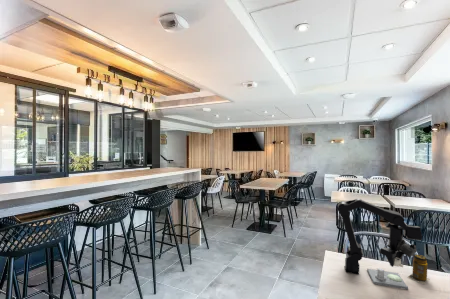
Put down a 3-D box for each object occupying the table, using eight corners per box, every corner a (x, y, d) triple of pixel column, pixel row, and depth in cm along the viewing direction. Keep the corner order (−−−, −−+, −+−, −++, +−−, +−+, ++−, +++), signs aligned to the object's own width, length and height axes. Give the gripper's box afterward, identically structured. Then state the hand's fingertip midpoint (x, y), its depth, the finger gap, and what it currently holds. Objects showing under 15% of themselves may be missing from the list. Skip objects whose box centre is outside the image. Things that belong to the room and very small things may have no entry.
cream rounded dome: (384, 261, 126) (385, 255, 126) (390, 259, 128) (390, 253, 128) (400, 268, 120) (400, 262, 119) (405, 266, 122) (405, 260, 122)
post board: (373, 283, 121) (373, 273, 121) (366, 270, 134) (367, 261, 133) (408, 289, 117) (408, 278, 116) (397, 275, 129) (398, 265, 129)
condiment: (429, 279, 125) (430, 257, 125) (424, 284, 121) (425, 262, 120) (413, 272, 131) (414, 252, 131) (407, 277, 127) (408, 256, 126)
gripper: (403, 246, 112) (402, 277, 113) (423, 238, 120) (421, 268, 121) (379, 237, 122) (378, 266, 123) (399, 231, 130) (398, 258, 131)
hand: (394, 265), depth 124 cm, fingers closed on cream rounded dome, 5 cm apart
